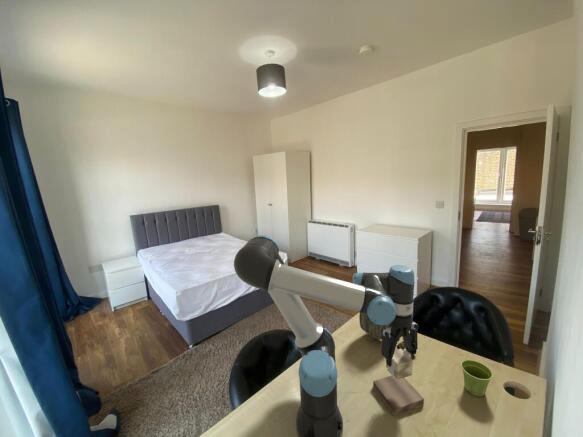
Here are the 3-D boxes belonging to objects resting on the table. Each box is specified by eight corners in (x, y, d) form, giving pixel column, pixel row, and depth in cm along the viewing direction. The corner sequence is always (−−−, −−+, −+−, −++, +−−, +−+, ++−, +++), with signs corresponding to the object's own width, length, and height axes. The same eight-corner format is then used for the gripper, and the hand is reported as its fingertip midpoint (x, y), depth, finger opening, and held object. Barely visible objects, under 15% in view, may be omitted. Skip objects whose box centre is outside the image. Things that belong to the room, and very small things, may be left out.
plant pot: (463, 397, 89) (465, 376, 88) (456, 376, 98) (457, 357, 96) (494, 404, 86) (497, 382, 84) (484, 382, 95) (487, 362, 93)
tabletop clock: (394, 343, 118) (396, 294, 113) (382, 351, 113) (383, 300, 108) (369, 328, 130) (370, 283, 125) (357, 335, 125) (357, 288, 120)
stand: (394, 415, 84) (394, 409, 83) (373, 386, 95) (373, 381, 94) (423, 404, 87) (423, 398, 86) (399, 378, 98) (399, 372, 98)
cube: (397, 379, 85) (398, 364, 84) (386, 366, 91) (386, 352, 90) (412, 375, 87) (412, 360, 86) (400, 362, 92) (400, 348, 91)
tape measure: (417, 355, 110) (417, 348, 109) (406, 361, 107) (407, 354, 106) (403, 346, 116) (404, 339, 115) (393, 351, 112) (393, 344, 112)
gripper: (383, 323, 78) (382, 386, 83) (432, 310, 84) (428, 370, 88) (369, 310, 85) (369, 369, 90) (415, 300, 91) (412, 356, 95)
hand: (398, 369), depth 89 cm, fingers closed on cube, 6 cm apart
